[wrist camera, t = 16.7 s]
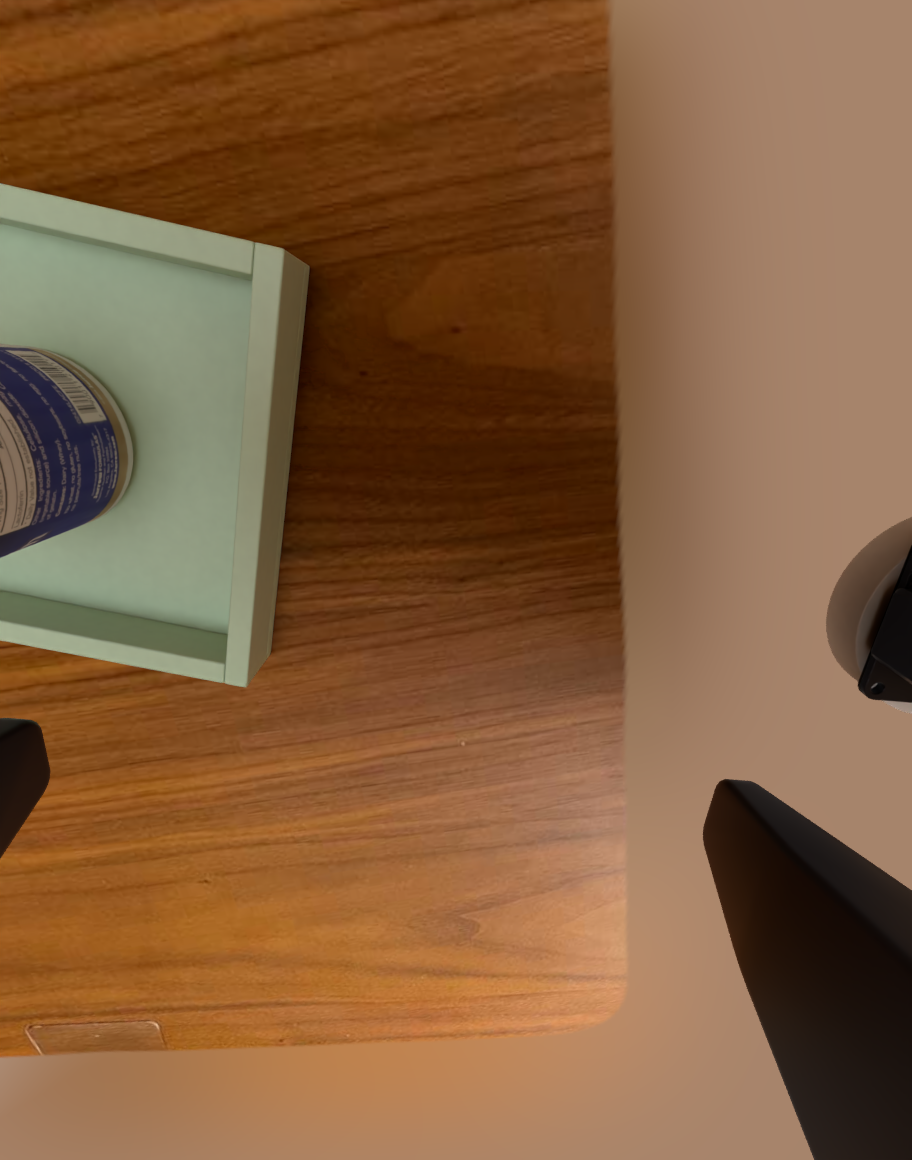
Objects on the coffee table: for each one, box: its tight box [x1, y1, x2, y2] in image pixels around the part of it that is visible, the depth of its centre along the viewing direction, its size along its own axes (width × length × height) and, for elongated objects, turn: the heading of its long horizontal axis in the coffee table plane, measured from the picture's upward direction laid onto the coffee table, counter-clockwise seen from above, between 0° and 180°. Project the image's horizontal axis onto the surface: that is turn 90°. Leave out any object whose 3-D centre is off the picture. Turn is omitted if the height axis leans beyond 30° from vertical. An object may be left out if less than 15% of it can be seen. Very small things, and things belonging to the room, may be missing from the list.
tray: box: [0, 183, 310, 687], centre depth 18 cm, size 16×14×2 cm
